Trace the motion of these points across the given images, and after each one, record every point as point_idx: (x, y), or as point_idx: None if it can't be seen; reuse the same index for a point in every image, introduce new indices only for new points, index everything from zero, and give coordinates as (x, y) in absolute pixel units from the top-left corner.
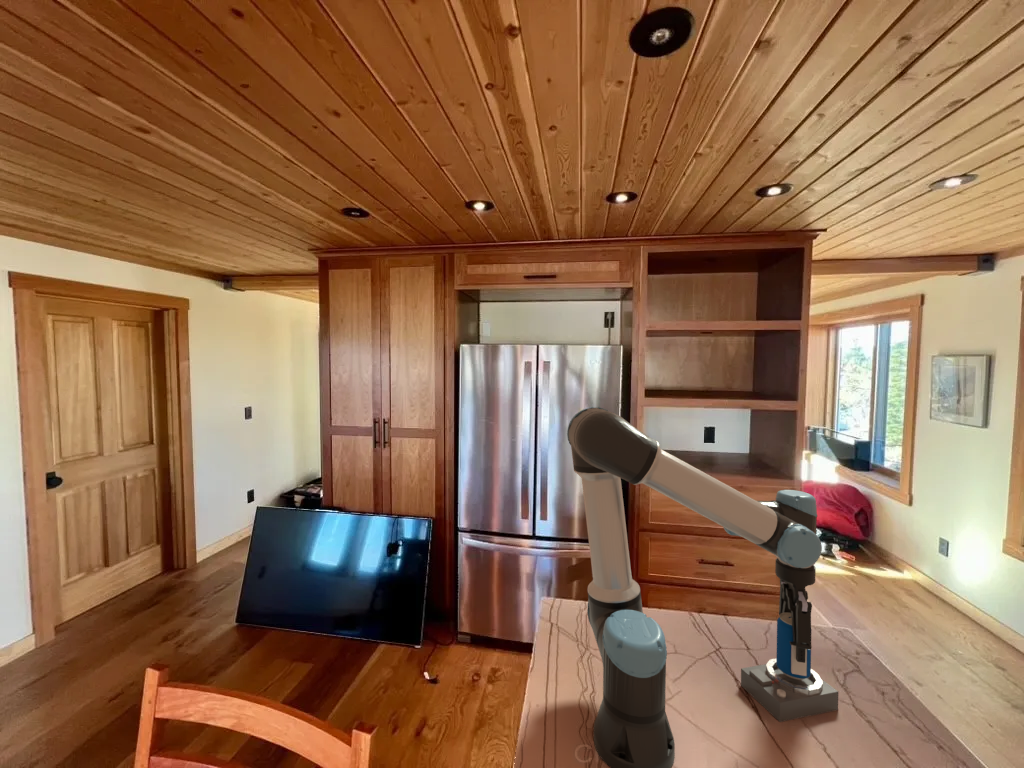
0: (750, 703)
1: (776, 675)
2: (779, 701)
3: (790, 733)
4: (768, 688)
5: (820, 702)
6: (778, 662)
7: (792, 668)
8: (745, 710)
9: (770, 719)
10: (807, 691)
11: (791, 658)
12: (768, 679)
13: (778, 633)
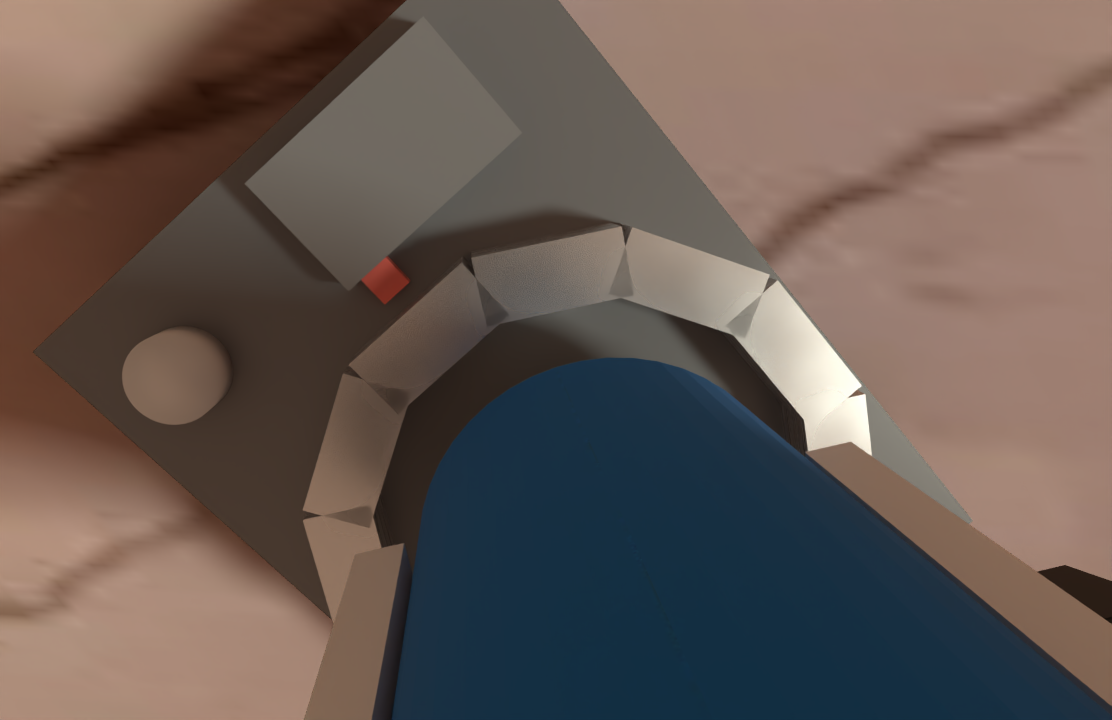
0: (245, 68)
1: (446, 341)
2: (53, 347)
3: (28, 390)
4: (237, 240)
5: None
6: (531, 399)
7: (345, 595)
8: (102, 18)
9: (114, 240)
10: None
11: (365, 660)
12: (345, 246)
13: (628, 642)
